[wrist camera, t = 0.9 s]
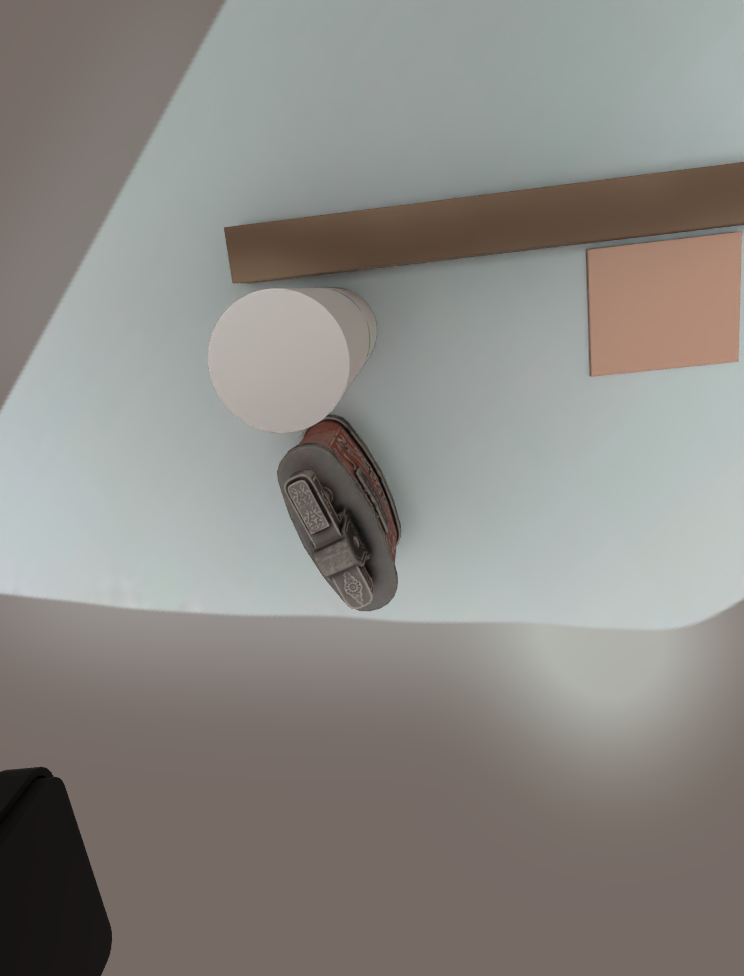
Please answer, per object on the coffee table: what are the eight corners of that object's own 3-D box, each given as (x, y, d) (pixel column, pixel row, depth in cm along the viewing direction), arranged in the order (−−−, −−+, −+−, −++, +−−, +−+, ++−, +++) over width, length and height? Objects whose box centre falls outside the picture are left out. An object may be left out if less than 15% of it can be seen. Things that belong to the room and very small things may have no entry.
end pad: (586, 249, 34) (588, 249, 34) (738, 231, 33) (741, 231, 33) (590, 375, 35) (591, 376, 35) (735, 360, 35) (738, 361, 34)
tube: (316, 389, 36) (251, 456, 22) (276, 312, 35) (181, 330, 21) (391, 351, 36) (374, 395, 21) (352, 271, 35) (307, 261, 20)
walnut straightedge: (240, 232, 35) (224, 227, 32) (751, 168, 32) (784, 156, 30) (247, 283, 35) (232, 283, 32) (750, 223, 33) (782, 217, 30)
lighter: (414, 536, 38) (414, 619, 29) (359, 561, 39) (340, 651, 29) (346, 403, 37) (322, 444, 27) (289, 431, 37) (245, 481, 28)
